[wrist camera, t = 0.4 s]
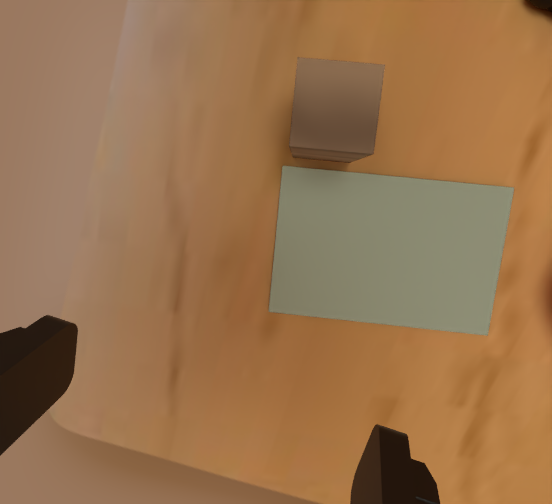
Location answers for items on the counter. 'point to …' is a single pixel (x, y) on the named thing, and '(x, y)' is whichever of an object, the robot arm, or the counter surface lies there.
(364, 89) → the walnut block
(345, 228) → the mat
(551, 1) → the door handle
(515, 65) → the counter surface
